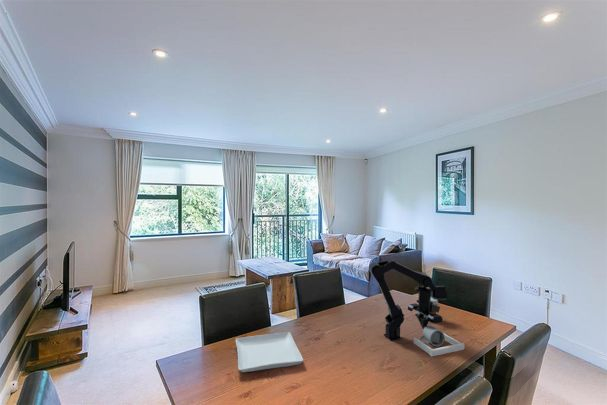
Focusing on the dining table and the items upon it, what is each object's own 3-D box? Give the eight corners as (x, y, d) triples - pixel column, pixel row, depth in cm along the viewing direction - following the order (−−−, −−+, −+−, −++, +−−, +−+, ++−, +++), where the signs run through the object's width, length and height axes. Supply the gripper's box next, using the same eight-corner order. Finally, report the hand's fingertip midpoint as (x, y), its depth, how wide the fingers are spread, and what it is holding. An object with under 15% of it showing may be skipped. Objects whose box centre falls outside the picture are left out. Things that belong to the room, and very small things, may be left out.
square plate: (238, 379, 117) (238, 369, 117) (235, 345, 143) (235, 337, 143) (304, 368, 124) (304, 359, 124) (289, 338, 150) (289, 330, 150)
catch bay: (431, 356, 132) (431, 351, 132) (412, 343, 144) (412, 338, 144) (464, 349, 138) (464, 344, 138) (443, 337, 150) (443, 332, 150)
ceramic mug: (434, 337, 149) (434, 322, 149) (445, 345, 141) (445, 330, 141) (415, 339, 148) (415, 324, 147) (424, 348, 140) (424, 332, 139)
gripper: (451, 303, 144) (451, 335, 144) (423, 291, 161) (423, 319, 162) (433, 306, 140) (433, 338, 140) (407, 293, 157) (406, 322, 158)
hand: (424, 329), depth 150 cm, fingers closed
